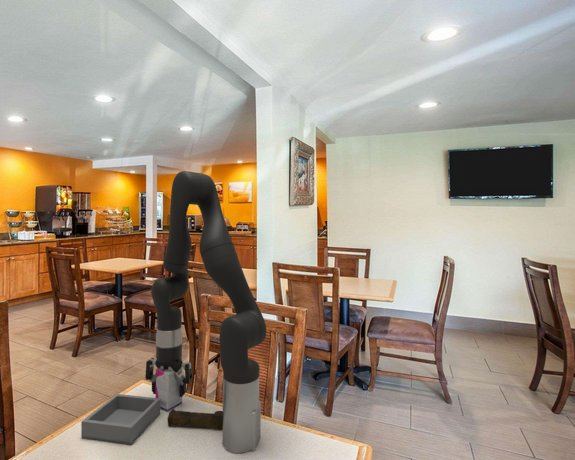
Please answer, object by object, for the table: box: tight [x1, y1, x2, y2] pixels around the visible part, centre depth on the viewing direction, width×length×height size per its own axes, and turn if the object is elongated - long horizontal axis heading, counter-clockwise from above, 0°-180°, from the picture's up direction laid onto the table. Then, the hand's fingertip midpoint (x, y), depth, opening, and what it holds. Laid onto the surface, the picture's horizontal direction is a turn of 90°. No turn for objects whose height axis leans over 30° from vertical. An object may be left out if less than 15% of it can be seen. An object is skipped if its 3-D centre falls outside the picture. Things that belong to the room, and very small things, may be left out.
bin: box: [80, 393, 161, 446], centre depth 94 cm, size 14×14×4 cm
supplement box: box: [155, 367, 184, 412], centre depth 104 cm, size 6×6×12 cm
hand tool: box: [167, 408, 223, 431], centre depth 94 cm, size 19×4×5 cm, turn 82°
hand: (168, 394), depth 104 cm, fingers open, 8 cm apart
